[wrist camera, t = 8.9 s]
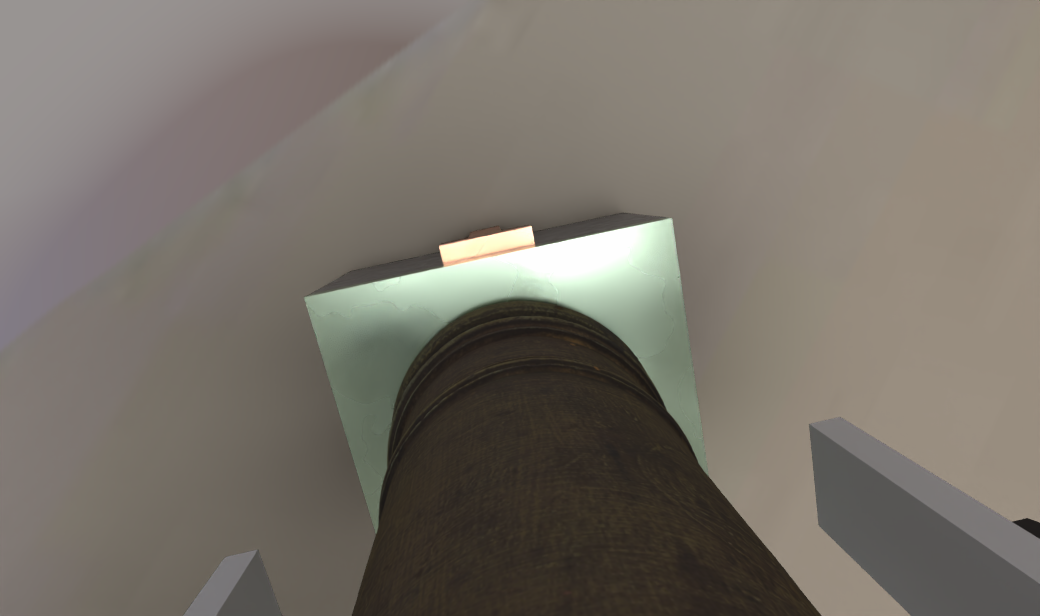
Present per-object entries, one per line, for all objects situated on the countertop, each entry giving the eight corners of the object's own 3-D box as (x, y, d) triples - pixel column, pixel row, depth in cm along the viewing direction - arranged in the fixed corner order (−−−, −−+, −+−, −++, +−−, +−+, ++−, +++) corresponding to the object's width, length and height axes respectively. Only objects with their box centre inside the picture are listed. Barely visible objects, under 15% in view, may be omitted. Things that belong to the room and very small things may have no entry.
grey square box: (419, 515, 25) (399, 612, 19) (346, 257, 22) (298, 279, 17) (663, 459, 25) (717, 538, 20) (621, 198, 23) (669, 199, 17)
